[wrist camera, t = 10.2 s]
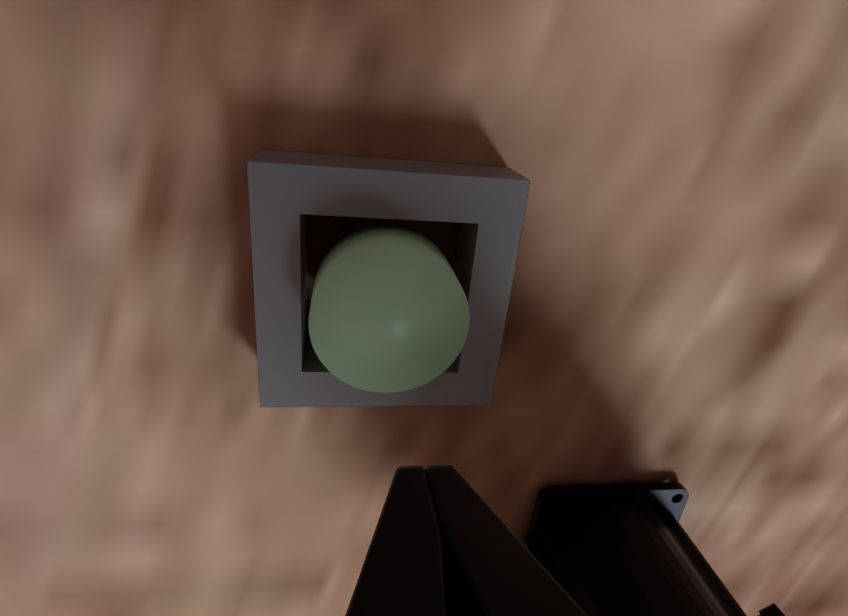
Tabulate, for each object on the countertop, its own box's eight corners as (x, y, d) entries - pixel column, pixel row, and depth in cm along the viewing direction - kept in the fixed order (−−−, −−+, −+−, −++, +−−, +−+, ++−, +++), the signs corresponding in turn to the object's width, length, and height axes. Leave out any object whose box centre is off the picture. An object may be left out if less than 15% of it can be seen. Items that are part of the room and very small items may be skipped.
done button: (462, 228, 14) (479, 252, 12) (446, 355, 16) (459, 392, 14) (313, 221, 13) (308, 244, 11) (313, 354, 15) (308, 393, 13)
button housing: (508, 167, 15) (530, 180, 13) (476, 371, 18) (491, 405, 16) (260, 149, 14) (246, 161, 12) (269, 370, 17) (259, 406, 15)
